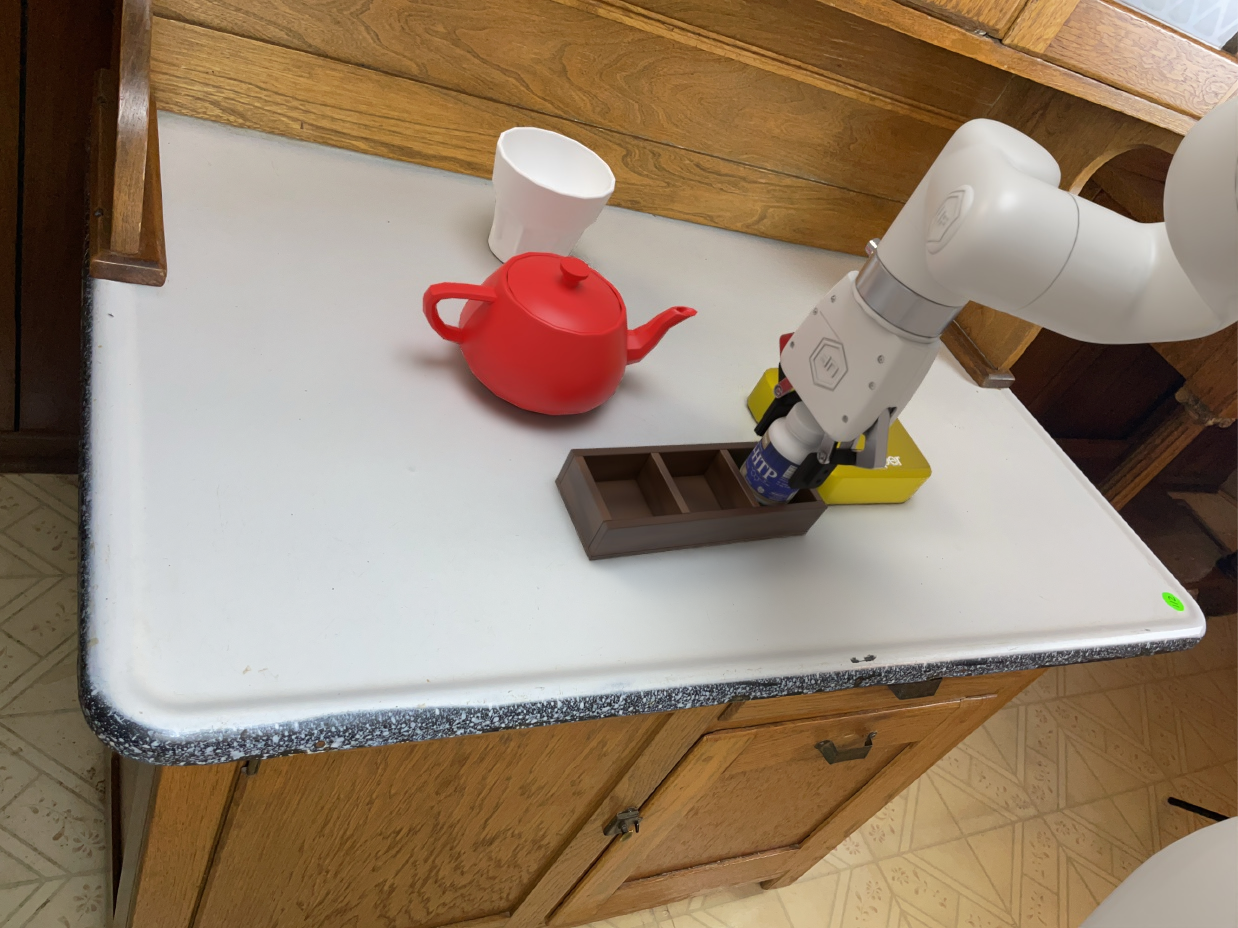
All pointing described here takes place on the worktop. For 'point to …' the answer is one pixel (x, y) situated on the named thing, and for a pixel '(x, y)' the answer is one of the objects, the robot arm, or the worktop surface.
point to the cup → (545, 192)
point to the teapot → (547, 332)
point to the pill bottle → (781, 455)
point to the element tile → (857, 483)
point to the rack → (673, 499)
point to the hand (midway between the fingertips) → (785, 457)
